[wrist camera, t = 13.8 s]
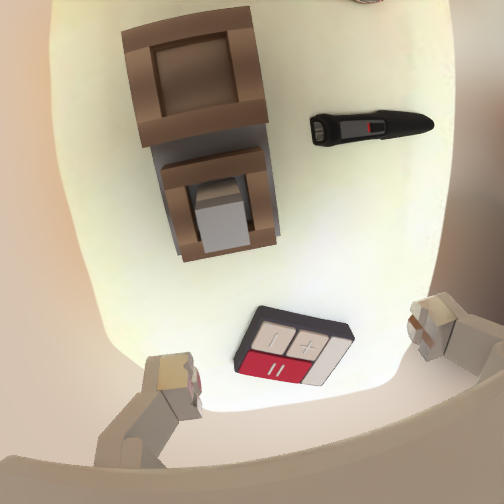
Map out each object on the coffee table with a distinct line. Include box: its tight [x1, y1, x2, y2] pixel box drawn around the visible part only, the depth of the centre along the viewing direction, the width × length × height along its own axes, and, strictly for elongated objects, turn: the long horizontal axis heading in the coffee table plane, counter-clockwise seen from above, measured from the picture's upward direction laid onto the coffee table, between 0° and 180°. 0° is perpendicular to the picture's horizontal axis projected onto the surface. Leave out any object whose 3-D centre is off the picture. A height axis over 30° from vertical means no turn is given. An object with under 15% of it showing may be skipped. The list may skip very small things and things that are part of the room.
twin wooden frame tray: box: [121, 6, 281, 262], centre depth 28 cm, size 24×12×10 cm, turn 9°
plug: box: [195, 179, 250, 253], centre depth 30 cm, size 4×4×8 cm
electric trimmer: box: [310, 110, 434, 147], centre depth 32 cm, size 4×16×3 cm, turn 99°
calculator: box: [234, 306, 355, 386], centre depth 45 cm, size 11×4×15 cm
